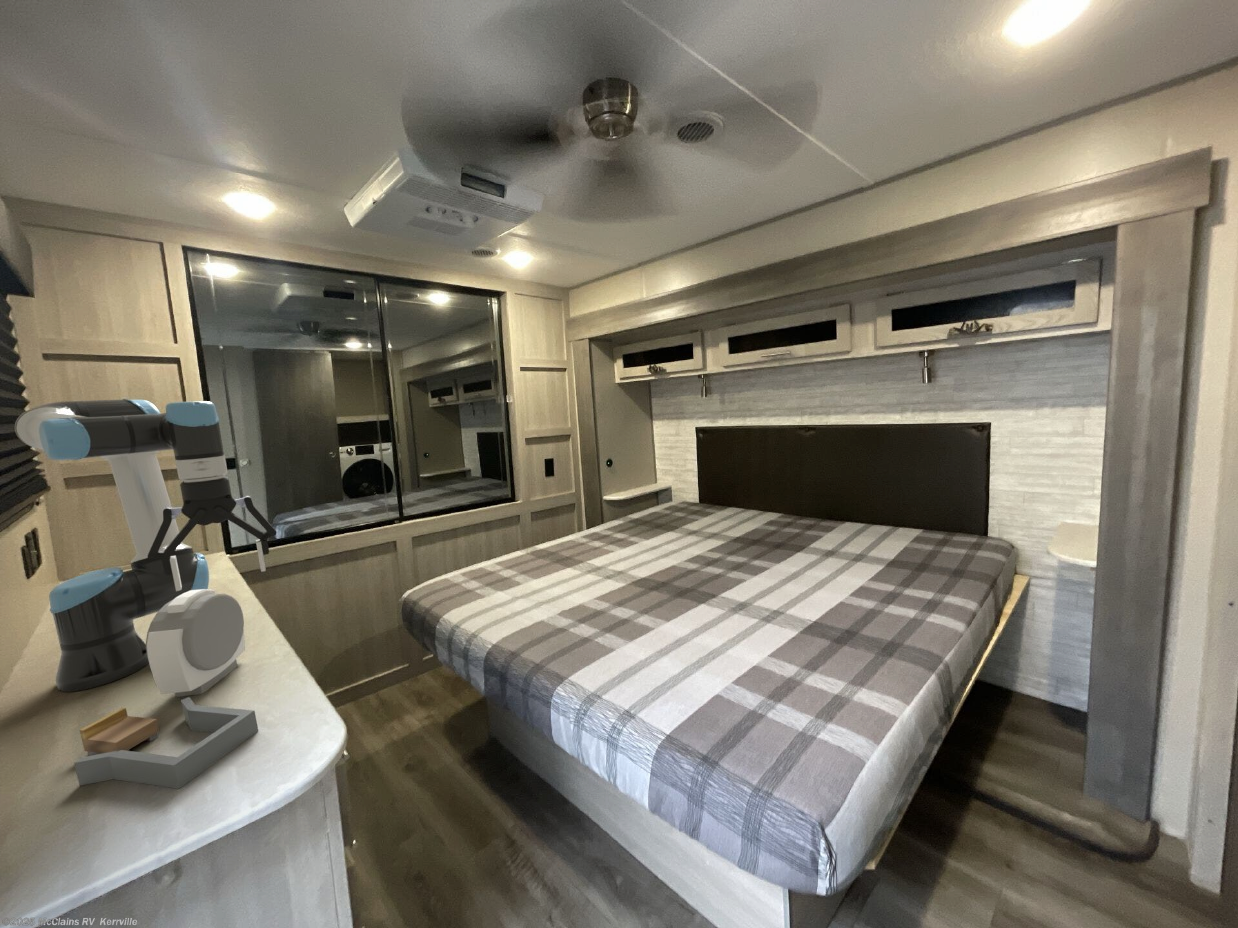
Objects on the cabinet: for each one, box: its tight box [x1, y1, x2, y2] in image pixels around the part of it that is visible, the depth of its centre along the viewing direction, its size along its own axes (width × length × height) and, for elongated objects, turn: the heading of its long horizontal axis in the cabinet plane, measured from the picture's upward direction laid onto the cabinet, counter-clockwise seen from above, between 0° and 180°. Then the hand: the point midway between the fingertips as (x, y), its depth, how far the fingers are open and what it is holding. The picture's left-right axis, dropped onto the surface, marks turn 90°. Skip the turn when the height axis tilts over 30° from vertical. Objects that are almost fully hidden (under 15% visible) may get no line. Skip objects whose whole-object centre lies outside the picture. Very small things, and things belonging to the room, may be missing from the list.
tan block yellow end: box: [79, 707, 160, 756], centre depth 85 cm, size 8×6×5 cm
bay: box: [73, 696, 259, 789], centre depth 82 cm, size 18×17×4 cm
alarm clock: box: [145, 588, 246, 698], centre depth 103 cm, size 18×8×20 cm, turn 5°
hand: (223, 579), depth 100 cm, fingers open, 13 cm apart
